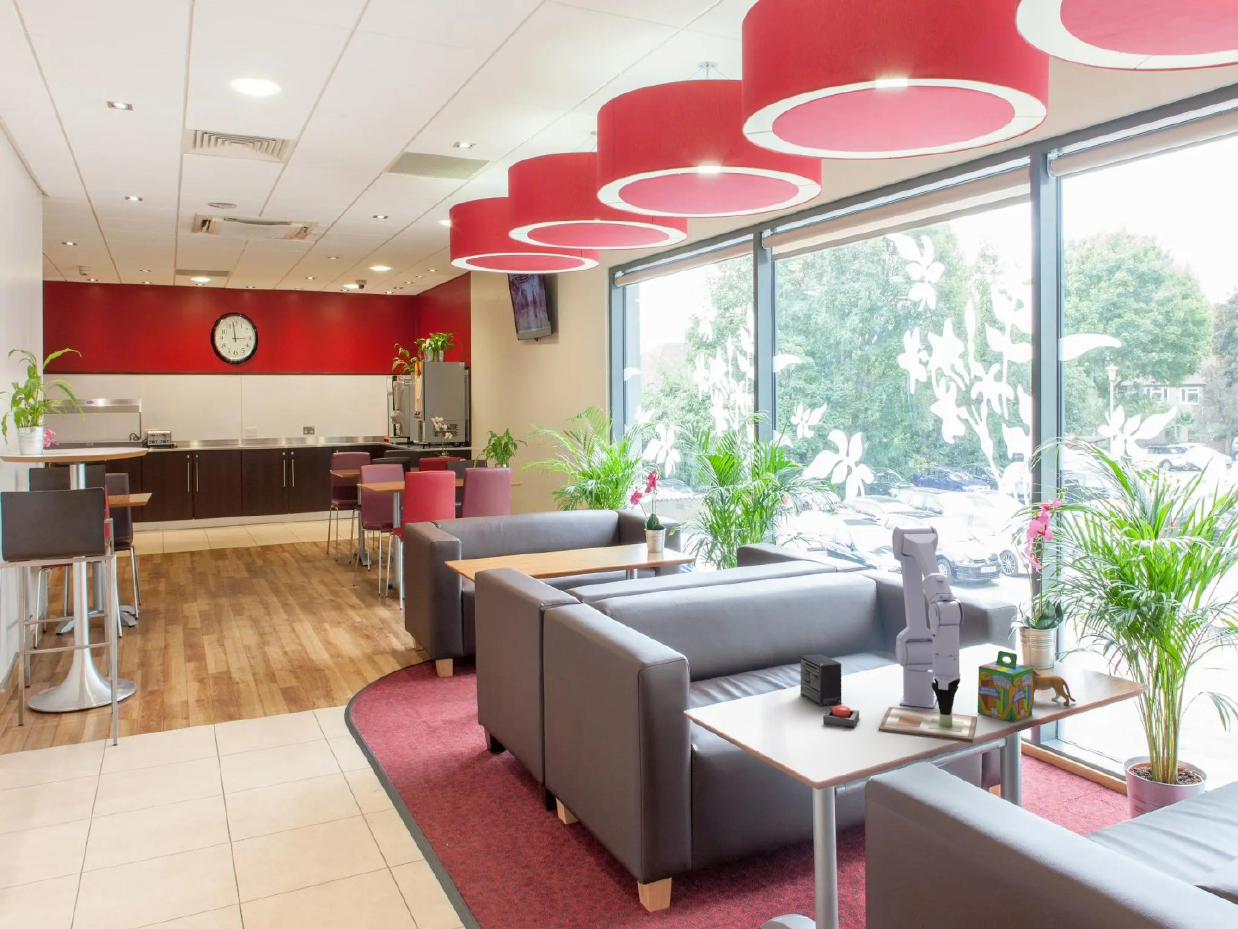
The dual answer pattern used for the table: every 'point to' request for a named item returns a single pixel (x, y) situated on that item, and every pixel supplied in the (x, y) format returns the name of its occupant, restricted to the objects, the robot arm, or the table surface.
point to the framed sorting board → (928, 724)
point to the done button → (841, 711)
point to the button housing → (841, 719)
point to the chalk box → (1005, 689)
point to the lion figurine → (1051, 686)
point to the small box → (820, 679)
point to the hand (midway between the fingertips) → (946, 712)
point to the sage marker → (945, 720)
